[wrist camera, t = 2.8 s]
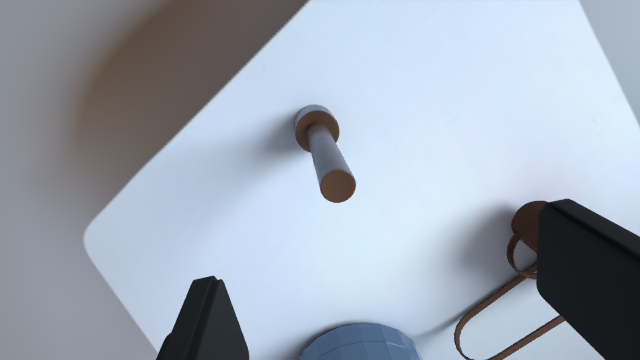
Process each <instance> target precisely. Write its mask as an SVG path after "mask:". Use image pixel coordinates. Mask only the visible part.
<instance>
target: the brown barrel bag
mask: <svg viewBox="0 0 640 360" xmlns="http://www.w3.org/2000/svg"><path fill="white" fill-rule="evenodd" d="M546 203H549V202H546V201H533V202H529V203H527V204H525V205H523V206H522V207H521V208H520V209H519V210H518V211H517V212H516V214H515V216H514V218H513V220H512V225H511V226H512V230H513V232H514V233H515V234H514V235H513V236H512V238H511V240H510V242H509V244H508V247H507V258H508V262H509V263H510V265H511V266H512V268H513V269H515V270H516V271H517V272H519V273H520V275H518V276H517V277H516V278H514V279H513V280H512V281H510V282H509V283H508V284H506V285H505V286H503V287H502V288H501V289H499V290H498V291H497V292H495V293H494V294H493V295H491V296H490V297H488V298H487V299H486V300H484V301H483V302H482V303H480V304H479V305H478V306H476V307H475V308H473V309H472V310H471V311H469V312H468V313H467V314H466V315H465V316H463V317H462V318H461V319H460V321H459V323H458V324H457V326H456V329H455V333H454V342H455V345H456V348H457V350H458V351H459V352H460V354H461V355H462V356H463V357H464V358H465V359H466V360H473V359H470V358H468V357H466V356H465V355H464V354H463V353H462V350H461V348H460V340H459V337H460V334H461V330H462V328H463V327H464V325H465V324H466V323H467V322H468V321H469V320H470V319H471V318H472V317H474V316H475V315H476V314H478V313H479V312H480V311H482V310H483V309H484V308H486V307H487V306H489V305H490V304H491V303H493V302H494V301H495V300H497V299H498V298H500V297H501V296H502V295H504V294H505V293H506V292H508V291H509V290H511V289H512V288H513V287H515V286H516V285H517V284H519V283H520V282H522V281H523V280H524V279H526V278H527V277H528V278H532V279H537V273H534V272H535V271H537V262H536V263H535V264H533V265H532V266H531V267H529V268H528V269H527V270H525V271H524V272H521V271H519V270H518V269H517V267H516V266H515V264H514V260H513V253H514V248H515V246H516V244H517V242H518V241H519V239H521V240H522V241H523V242H524V243H525V244H526V245H528V246H529V247H530V248H531V249H533V250H534V251H535V252H536V253H537V250H538V221H539V212H540V210H542V209H543V207H544V205H545V204H546ZM564 321H565V319H564V318H563V317H562V316H561V315H559V316H557V317H556V318H554V319H552V320H551V321H549V322H548V323H546V324H545V325H543V326H541V327H540V328H538V329H537V330H535V331H533V332H532V333H530V334H529V335H527V336H526V337H524V338H522V339H521V340H519V341H518V342H516V343H514V344H513V345H511V346H510V347H508V348H506V349H505V350H503V351H502V352H500V353H499V354H497V355H495V356H493V357H491V358H489V359H487V360H503V359H504V358H506V357H507V356H509V355H511V354H512V353H514V352H516V351H517V350H519V349H520V348H522V347H524V346H525V345H527V344H528V343H530V342H532V341H533V340H535V339H536V338H538V337H540V336H541V335H543V334H544V333H546V332H548V331H549V330H551V329H552V328H554V327H556V326H557V325H559V324H560V323H562V322H564Z"/></svg>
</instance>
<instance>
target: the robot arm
mask: <svg viewBox="0 0 640 360" xmlns="http://www.w3.org/2000/svg"><path fill="white" fill-rule="evenodd" d="M536 285H537V289H538V292H539V293H540V295H541V296H542V298H543V299H544V300H545V301H546V302H547V303H548V304H549V305H550V306H551V307H553V308H554V309H555V310H556V311H557V312H558V313H559V314H560V315H561V316H562V317H563V318H564V319H565V320H566V321H567V322H568V323H569V324H570V325H571V326H572V327H573V328H574V329H575V330H576V331H577V332H578V333H579V334H580V335H581V336H582V337H583V338H584V339H585V340H586V341H587V342H588V343H589V344H590V345H591V346H592V347H593V348H594V349H595V350H596V351H597V352H598V353H599V354H600V355H601V356H602V357H603V358H604V359H605V360H640V237H639V236H637V235H636V234H634V233H632V232H630V231H628V230H626V229H624V228H623V227H621V226H619V225H617V224H615V223H613V222H611V221H610V220H608V219H606V218H604V217H602V216H600V215H599V214H597V213H595V212H593V211H591V210H589V209H587V208H586V207H584V206H582V205H580V204H578V203H576V202H574V201H573V200H570V199H563V200H558V201H554V202H549V203H546V204H545V205H544V207H543V209H542V210H540V212H539V221H538V250H537V280H536ZM156 360H249V351H248V347H247V344H246V342H245V339H244V336H243V333H242V331H241V328H240V325H239V322H238V320H237V317H236V314H235V311H234V309H233V306H232V303H231V300H230V298H229V295H228V292H227V290H226V287H225V284H224V282H223V280H221V279H220V280H217V279H216V277H215V276H210V277H205V278H201V279H196V280H193V282H192V284H191V286H190V289H189V291H188V293H187V296H186V298H185V301H184V303H183V306H182V308H181V310H180V313H179V315H178V318H177V320H176V323H175V325H174V327H173V330H172V332H171V333H170V334H169V335H167V337H166V338H165V340H164V342H163V344H162V347H161V349H160V351H159V354H158V357H157V358H156Z"/></svg>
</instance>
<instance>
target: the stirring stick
mask: <svg viewBox="0 0 640 360" xmlns="http://www.w3.org/2000/svg"><path fill="white" fill-rule="evenodd" d="M294 125H295V135H296V139H297V142H298V143H299V145H300V146H301V147H302V148H303V149H304V150H306V151H308V152H310V153H311V154H312V158H313V162H314V166H315V170H316V174H317V178H318V183H319V187H320V191H321V193H322V195H323V197H324V198H325V199H327V200H328V201H330V202H334V203H340V202H344V201H346V200H348V199H349V198H350V197H351V196H352V195H353V193H354V191H355V188H356V182H355V179H354V177H353V175H352V173H351V171H350V169H349V167H348V165H347V163H346V162H345V160H344V158H343V156H342V154H341V152H340V150H339V148H338V147H337V145H336V142H337V140H338V137H339V126H338V123H337V121H336V119H335V118H334V117H333V115H332V114H331V112H330V111H329V110H328V109H326V108H325V107H323V106H320V105H310V106H307V107H305V108H303V109H302V110H301V111H300V112H299V113H298V115H297V116H296V119H295V124H294Z"/></svg>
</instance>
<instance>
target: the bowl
mask: <svg viewBox="0 0 640 360" xmlns="http://www.w3.org/2000/svg"><path fill="white" fill-rule="evenodd" d="M298 360H422V357H421V355H420V353H419V351H418V350H417V348H416V346H415V345H414V343H413V342H412V340H411V339H410V338H408V337H407V336H406V335H404V334H403V333H401V332H400V331H399V330H397V329H394V328H391V327H388V326H385V325H381V324H373V323H356V324H350V325H345V326H342V327H338V328H336V329H333V330H331V331H329V332H327V333H325V334H324V335H322V336H320V337H318V338H317V339H315V340H314V341H313V342H312V343H311V344H310V345H309V346H308V347H307V348H306V349H305V350H303V352H302V354H301V355H300V357H299V359H298Z"/></svg>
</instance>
